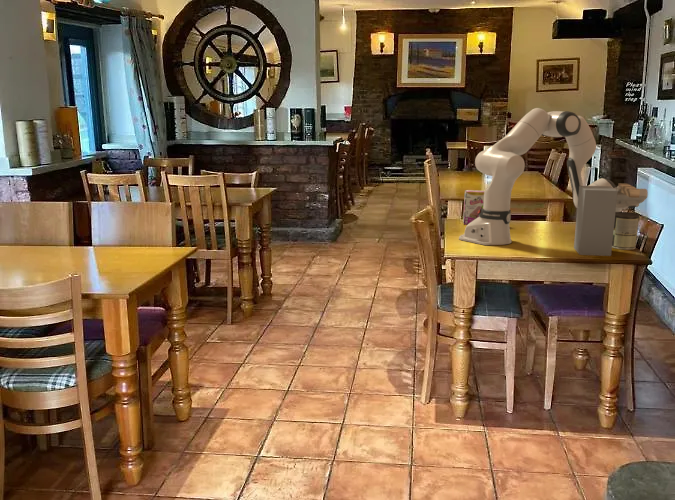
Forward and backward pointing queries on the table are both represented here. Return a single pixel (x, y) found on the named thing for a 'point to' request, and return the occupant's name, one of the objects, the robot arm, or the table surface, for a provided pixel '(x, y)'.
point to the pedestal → (595, 220)
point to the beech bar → (629, 190)
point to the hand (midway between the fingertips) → (626, 187)
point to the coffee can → (625, 230)
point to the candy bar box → (472, 205)
